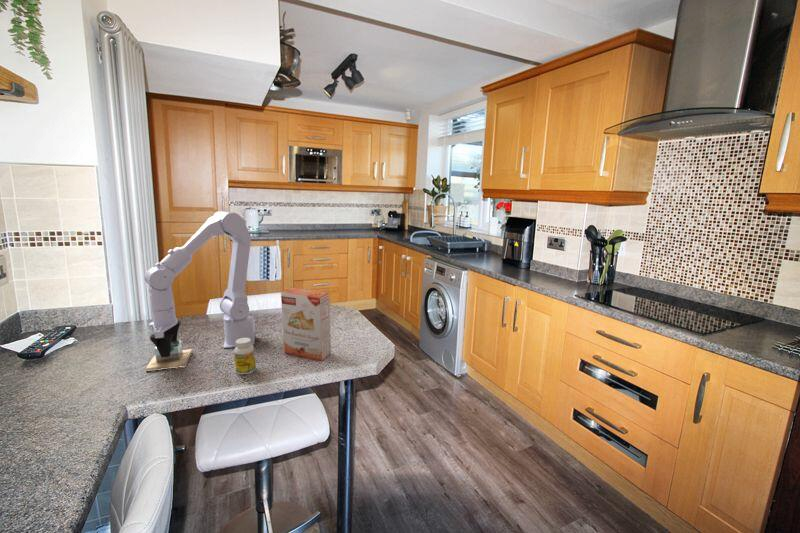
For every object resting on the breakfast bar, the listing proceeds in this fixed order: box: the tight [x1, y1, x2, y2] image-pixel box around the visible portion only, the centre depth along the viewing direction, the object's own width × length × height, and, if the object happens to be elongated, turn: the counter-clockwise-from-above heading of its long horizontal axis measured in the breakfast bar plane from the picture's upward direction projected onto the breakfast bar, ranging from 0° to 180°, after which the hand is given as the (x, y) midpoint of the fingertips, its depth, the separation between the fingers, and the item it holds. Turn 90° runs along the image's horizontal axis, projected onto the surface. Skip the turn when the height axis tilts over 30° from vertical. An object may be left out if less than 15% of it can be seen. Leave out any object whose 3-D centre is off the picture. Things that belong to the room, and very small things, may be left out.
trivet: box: [145, 348, 193, 372], centre depth 114 cm, size 10×10×1 cm
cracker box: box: [280, 287, 332, 362], centre depth 119 cm, size 14×6×21 cm, turn 70°
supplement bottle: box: [233, 338, 257, 375], centre depth 109 cm, size 5×5×10 cm
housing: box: [154, 340, 183, 362], centre depth 114 cm, size 6×4×4 cm
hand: (169, 350), depth 114 cm, fingers open, 7 cm apart
